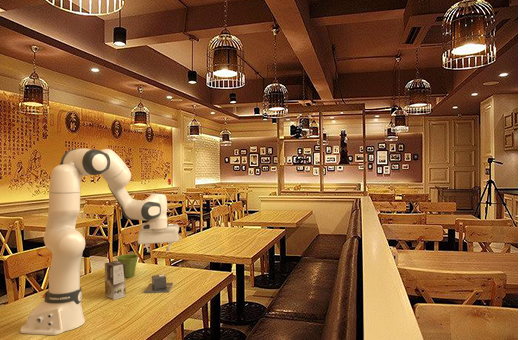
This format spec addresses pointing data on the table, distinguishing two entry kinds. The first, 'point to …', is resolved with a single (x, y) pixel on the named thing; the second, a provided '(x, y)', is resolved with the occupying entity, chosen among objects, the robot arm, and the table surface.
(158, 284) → the grey drawer unit
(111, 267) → the coffee box
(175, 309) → the table surface
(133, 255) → the plant pot
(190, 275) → the table surface
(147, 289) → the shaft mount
